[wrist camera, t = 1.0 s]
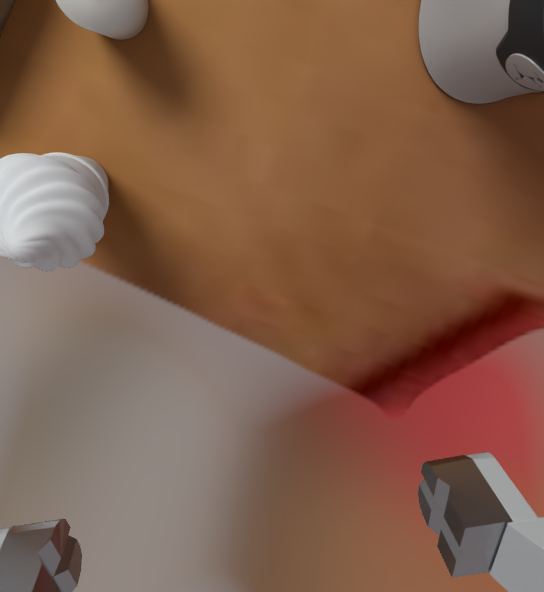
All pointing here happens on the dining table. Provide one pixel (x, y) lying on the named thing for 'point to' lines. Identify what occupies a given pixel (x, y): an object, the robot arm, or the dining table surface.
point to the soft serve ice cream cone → (51, 209)
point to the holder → (5, 12)
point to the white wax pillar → (108, 16)
